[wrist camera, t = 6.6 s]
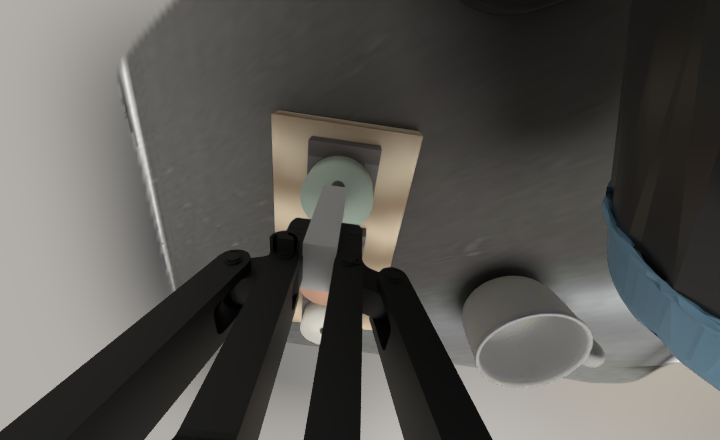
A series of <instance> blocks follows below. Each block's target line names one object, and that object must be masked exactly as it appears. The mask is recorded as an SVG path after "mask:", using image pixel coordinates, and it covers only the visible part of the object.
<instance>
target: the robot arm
mask: <svg viewBox="0 0 720 440" xmlns="http://www.w3.org/2000/svg"><path fill="white" fill-rule="evenodd" d="M460 1H462V2H463V3H465V4H466V5H468V6H470V7H472V8H474V9H477V10H480V11H483V12H486V13H491V14H498V15H515V14H522V13H527V12H531V11H535V10H538V9H541V8H544V7H547V6H550V5H553V4H556V3H558V2H561V1H563V0H460ZM346 191H347V188H346V187H339V186H331V185H324V186H323V189H322V191H321V194H320V197H319V200H318V202H317V205H316V208H315V211H314V213H313V216H312V219H305V218H295V219H294V220H292V221H291V222H290V224H289V226H288V228H287V230H286V231H278V232H276V233H274V234H272V235H271V236H270V254H269V255H267V256H264V257H256V258H250V255H249V253H248V252H246V251H244V250H230V251H226V252H224V253H222V254H221V255H219V256H218V257H217V258H215V259H214V260H213V261H212V262H210V263H209V264H208V265H207V266H205V267H204V268H203V269H202V270H200V271H199V272H198V273H197V274H196V275H194V276H193V277H192V278H191V279H189V280H188V281H187V282H186V283H184V284H183V285H182V286H181V287H179V288H178V289H177V290H176V291H174V292H173V293H172V294H171V295H169V296H168V297H167V298H166V299H164V300H163V301H162V302H161V303H160V304H158V305H157V306H156V307H155V308H153V309H152V310H151V311H150V312H148V313H147V314H146V315H145V316H143V317H142V318H141V319H140V320H139V321H137V322H136V323H135V324H133V325H132V326H131V327H130V328H128V329H127V330H126V331H125V332H123V333H122V334H121V335H120V336H119V337H117V338H116V339H115V340H114V341H112V342H111V343H110V344H109V345H107V346H106V347H105V348H104V349H102V350H101V351H100V352H99V353H97V354H96V355H95V356H94V357H92V358H91V359H90V360H89V361H88V362H87V363H85V364H84V365H82V366H81V367H80V368H79V369H78V370H76V371H75V372H74V373H73V374H71V375H70V376H69V377H68V378H66V379H65V380H64V381H63V382H61V383H60V384H59V385H58V386H56V387H55V388H54V389H53V390H52V391H50V392H49V393H48V394H47V395H45V396H44V397H43V398H41V399H40V400H39V401H38V402H37V403H35V404H34V405H33V406H32V407H30V408H29V409H28V410H27V411H25V412H24V413H23V414H22V415H20V416H19V417H18V418H17V419H15V420H14V421H13V422H12V423H10V424H9V425H8V426H7V427H5V428H4V429H3V430H2V431H1V432H0V440H144V439H145V438H146V437H147V435H148V434H149V433H150V432H151V431H152V429H153V428H154V427H155V426H156V424H157V423H158V422H159V421H160V419H161V418H162V417H163V416H164V415H165V413H166V412H167V411H168V410H169V408H170V407H171V406H172V405H173V403H174V402H175V401H176V400H177V399H178V397H179V396H180V395H181V394H182V393H183V391H184V390H185V389H186V388H187V386H188V385H189V384H190V383H191V381H192V380H193V379H194V378H195V377H196V375H197V374H198V373H199V372H200V370H201V369H202V368H203V367H204V366H205V364H206V363H207V362H208V361H209V359H210V358H211V357H212V356H213V354H214V353H215V352H216V351H217V350H218V348H219V347H220V346H221V345H222V343H223V342H224V343H223V345H222V347H221V349H220V351H219V353H218V355H217V357H216V359H215V361H214V363H213V365H212V367H211V368H210V371H209V372H208V374H207V376H206V378H205V380H204V382H203V384H202V386H201V388H200V390H199V392H198V394H197V396H196V398H195V400H194V401H193V403H192V405H191V407H190V409H189V411H188V413H187V415H186V417H185V419H184V421H183V423H182V425H181V427H180V429H179V430H178V432H177V434H176V435H175V437H174V438H173V439H172V440H258V438H259V434H260V430H261V427H262V424H263V420H264V416H265V413H266V410H267V406H268V403H269V400H270V396H271V393H272V389H273V386H274V382H275V378H276V375H277V372H278V368H279V365H280V362H281V358H282V355H283V351H284V348H285V344H286V341H287V337H288V334H289V330H290V327H291V324H292V320H293V317H294V313H295V310H296V306H297V303H298V299H299V289H300V286H301V289H306V290H315V291H324V292H329V294H328V300H327V306H326V312H325V318H324V324H323V329H322V335H321V341H320V347H319V353H318V360H317V365H316V371H315V377H314V382H313V388H312V394H311V400H310V406H309V412H308V418H307V424H306V429H305V435H304V440H360V423H361V421H360V420H361V419H360V418H361V366H362V314H365V315H367V316H369V320H370V324H371V327H372V331H373V334H374V338H375V341H376V344H377V348H378V351H379V355H380V358H381V362H382V365H383V368H384V372H385V375H386V379H387V382H388V386H389V389H390V392H391V396H392V399H393V403H394V406H395V410H396V413H397V416H398V420H399V423H400V427H401V430H402V434H403V437H404V440H492V438H491V436H490V434H489V432H488V430H487V429H486V426H485V424H484V423H483V421H482V419H481V417H480V415H479V413H478V411H477V409H476V407H475V405H474V403H473V401H472V400H471V398H470V396H469V394H468V392H467V390H466V388H465V386H464V384H463V382H462V380H461V379H460V377H459V375H458V373H457V371H456V369H455V367H454V365H453V363H452V361H451V359H450V357H449V355H448V353H447V352H446V350H445V348H444V346H443V344H442V342H441V340H440V338H439V336H438V334H437V332H436V330H435V329H434V327H433V325H432V323H431V321H430V319H429V317H428V315H427V313H426V311H425V309H424V307H423V305H422V304H421V302H420V300H419V298H418V296H417V294H416V292H415V290H414V288H413V286H412V284H411V282H410V281H409V279H408V277H407V275H406V274H405V273H404V272H403V271H401V270H399V269H397V268H393V267H387V268H383V269H382V270H380V272H378V271H375V270H373V269H371V268H369V267H367V266H366V265H365V264H364V262H363V260H362V236H363V230H362V229H361V227H360V225H356V224H348V223H343V216H344V208H345V199H346ZM602 206H603V214H604V218H605V221H606V223H607V226H608V238H607V261H608V266H609V272H610V275H611V278H612V281H613V283H614V285H615V287H616V290H617V291H618V293H619V295H620V297H621V299H622V300H623V302H624V303H625V304H626V306H627V307H628V309H629V310H630V312H631V313H632V314H633V315H634V317H635V318H636V319H637V320H638V321H639V322H640V323H641V324H643V325H644V326H645V327H647V328H648V329H649V330H650V331H651V332H653V333H654V334H655V335H656V336H658V337H659V338H660V339H661V340H662V342H663V343H664V344H665V345H666V346H667V347H668V349H669V350H670V352H671V353H672V354H673V355H674V356H675V357H676V358H677V359H678V360H679V361H680V362H682V363H683V364H684V365H685V366H686V367H688V368H689V369H690V370H692V371H693V372H694V373H696V374H697V375H698V376H700V377H701V378H703V379H704V380H705V381H707V382H708V383H709V384H711V385H712V386H714V387H715V388H716V389H718V390H719V391H720V0H631V8H630V17H629V26H628V35H627V44H626V53H625V61H624V70H623V79H622V88H621V97H620V106H619V115H618V123H617V132H616V141H615V150H614V159H613V168H612V177H611V180H610V182H609V184H608V186H607V191H606V196H605V198H604V199H603V203H602Z"/></svg>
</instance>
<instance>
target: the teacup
mask: <svg viewBox="0 0 720 440" xmlns="http://www.w3.org/2000/svg"><path fill="white" fill-rule="evenodd" d="M462 322H463V326H464V330H465V333H466V336H467V339H468V342H469V345H470V347H471V350H472V353H473V355H474V358H475V364H476V366H477V368H478V370H479V371H480V373H481V374H482V375H483V376H484V377H485V378H486V379H488V380H489V381H491V382H493V383H496V384H499V385H502V386H507V387H519V388H520V387H521V388H524V387H534V386H539V385H543V384H548V383H550V382H553V381H556V380H559V379H561V378H562V377H564V376H566V375H568V374H569V373H571V372H572V371H574V370H575V369H577V368H578V367H579V366H580V365H581V364H582V365H585V366H588V367H598V366H600V365H601V364H602V363H603V362H604V360H605V353H604V351H603V349H602V348H601V346H600V345H599V344H598V343H597V342H596V341H595V340H594V339H593V337H592V333H591V331H590V329H589V328H588V327H587V325H586V324H585V323H584V322H583V321H581V320H580V319H578V318H577V317H576V315H575V314H574V313H573V312H572V311H571V310H570V309H569V308H568V307H567V306H566V305H565V304H564V303H563V302H562V301H561V299H560V298H559V297H558V296H557V295H555V294H554V293H553V292H552V291H551V290H550V289H549V288H548V287H546V286H545V285H543V284H542V283H540V282H538V281H536V280H534V279H531V278H528V277H523V276H504V277H499V278H495V279H492V280H489V281H487V282H485V283H484V284H482V285H480V286H479V287H478V288H476V289H475V290H474V291H473V292H472V293H471V294H470V295H469V297H468V298H467V300H466V302H465V304H464V307H463V311H462Z"/></svg>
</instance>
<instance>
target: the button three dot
mask: <svg viewBox="0 0 720 440" xmlns="http://www.w3.org/2000/svg"><path fill="white" fill-rule="evenodd" d="M300 291H301V293H302V294H303V295H304V296H305V297H306V298H307V299H308V300H310V301H312V302H314V303H316V304H319V305H323V306H327V300H328V294H329V292H324V291H315V290H306V289H301V286H300Z"/></svg>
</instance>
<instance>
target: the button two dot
mask: <svg viewBox="0 0 720 440" xmlns="http://www.w3.org/2000/svg"><path fill="white" fill-rule="evenodd" d="M324 185H331V186H339V187H346V188H347V191H346V199H345V208H344V216H343V223H348V224H356V225H360V224H362V223H363V222H364V221H365V220H366V219H367V217H368V216H369V214H370V212H371V210H372V206H373V185H372V180H371V177H370V175H369V173H368V171H367V170H366V169H365V168H364V167H363V166H362V165H361V164H360V163H359V162H357V161H356V160H354V159H351V158H349V157H344V156H331V157H327V158H324V159H322V160H321V161H319V162H318V163H316V164H315V165H314V166H313V167H312V169H311V170H310V172H309V174H308V175H307V177H306V179H305V181H304V183H303V185H302V188H301V193H300V200H301V205H302V208H303V210H304V212H305V213H306V215H307V216H308V217H309V219H312V216H313V213H314V211H315V208H316V205H317V202H318V200H319V197H320V194H321V191H322V189H323V186H324Z"/></svg>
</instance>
